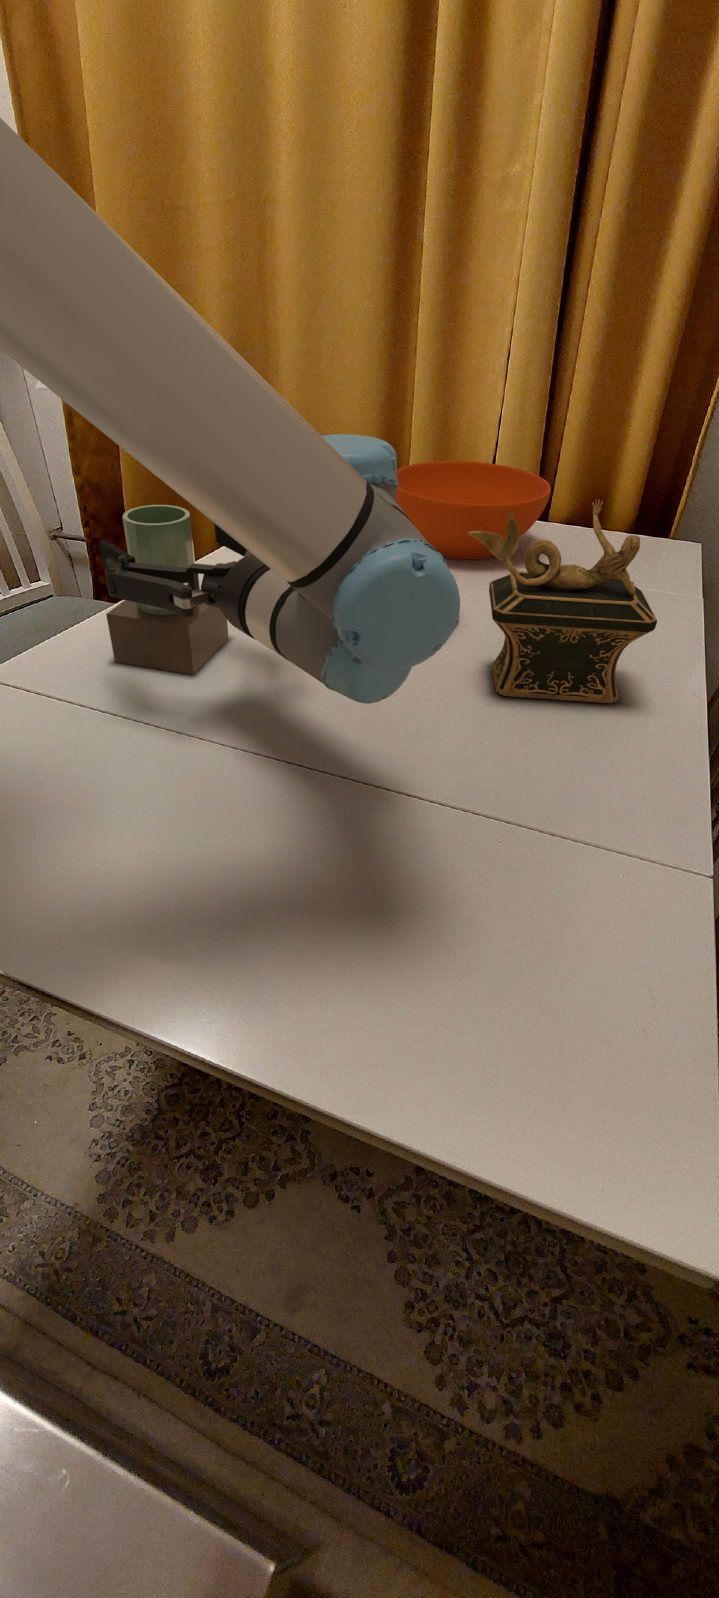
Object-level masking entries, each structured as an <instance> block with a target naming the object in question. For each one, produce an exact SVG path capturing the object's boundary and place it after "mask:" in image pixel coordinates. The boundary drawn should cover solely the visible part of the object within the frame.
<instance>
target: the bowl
mask: <svg viewBox="0 0 719 1598" xmlns="http://www.w3.org/2000/svg"><path fill="white" fill-rule="evenodd" d="M397 480H398V482H399V487H397V491H396V498H395V502H396V503H397V504H398V506H399V507H400V508H401V509H402V510H403V512H404V513H405V514H406V515H407V517H408V518H409V520H410V521H411V523H412V524H413V525H414V526H415V528H416V529H417V530H418V531H419V532H420V533H421V534H422V536H423V537H424V538H425V539H426V540H427V542H428V543H429V544H431V545H432V546H433V547H434V548H435V549H436V550H437V551H438V552H439V553H440V554H441V555H442V556H443V557H444V558H451V559H459V560H483V559H490V558H494V557H495V556H494V555H493V554H492V553H491V552H490V551H489V549H488V548H487V547H486V546H485V545H484V544H483V543H482V542H480V541H479V540H478V539H476V538H474V537H472V536H470V535H469V534H468V533H469V532H471V531H483V532H492V533H497V534H499V535H501V536H502V538H503V540H504V541H505V540H506V528H507V525H508V522H509V516H510V514H512V515H513V516H514V518H515V521H516V523H517V526H518V529H519V535H520V538H521V537H522V536H524V535H525V534H526V533H527V532H528V531H529V530H530V529H531V527H533V525H534V524H536V522H537V520H538V519H540V516H542V513H543V511H544V510H545V509H546V506H547V504H548V502H549V499H550V497H551V492H552V488H551V485H550V483H549V482H548V481H547V480H546V479H544V478H543V477H542V476H540V475H537V474H535V473H533V472H529V471H528V470H523V469H521V468H516V467H512V466H508V465H504V464H503V465H502V464H496V463H489V462H481V461H468V460H467V461H466V460H437V461H427V462H426V461H425V462H419V463H418V462H417V463H414V464H413V463H412V464H409V465H406V466H402V467H400V468H398V469H397Z"/></svg>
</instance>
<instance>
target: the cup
mask: <svg viewBox="0 0 719 1598" xmlns="http://www.w3.org/2000/svg"><path fill="white" fill-rule="evenodd" d="M121 519H122V523H123V530H124V531H123V532H124V536H125V544H126V550H127V553H128V554H129V555H131V556H132V557H134V558H135V561H136V563H142V564H152V565H163V566H174V567H184V568H188V567H189V566H190V565H191V564H194V563H196V558H195V549H194V540H193V531H192V521H191V512H190V511H189V510H188V509H186V508H184V507H180V506H177V505H171V504H170V505H169V504H150V505H149V504H148V505H141V506H137V507H134V508H130V509H128V510H125V512H123V513H122V518H121ZM136 604H137V607H138V608H139V609H140V610H141V611H143V612H145V613H149V614H154V615H174V614H178V613H176V612H174V611H172V610H168V609H163V608H159V607H154V606H150V605H145V604H141V603H136ZM195 607H196V606H194V608H195Z"/></svg>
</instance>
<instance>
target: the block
mask: <svg viewBox="0 0 719 1598" xmlns="http://www.w3.org/2000/svg"><path fill="white" fill-rule="evenodd" d="M200 590H201V588H200ZM105 616H106V621H107V626H108V627H107V628H108V632H109V637H110V638H109V639H110V642H111V648H112V653H113V659H114V663H117V664H123V665H129V666H136V667H141V668H147V669H153V670H161V671H166V672H172V673H179V674H183V675H191V676H194V675H196V673H198V672H199V670H200V669H202V667H203V666H204V665H205V664H207V662H208V661H209V660H210V659H211V658H212V657H213V656H214V655H215V654H216V653H217V652H218V651H219V650H220V648H221V647H223V646H224V644H226V642H227V641H228V640H229V639H230V638H229V627H228V620H227V619H226V617H225V616H224V614H223V613H222V611H221V610H220V609H219V608H217V607H213V606H209V605H206V604H205V603H203V604H200V605H197V606H196V607H195V608H194V615H193V616H190V617H185V616H182V615H180V614H174V615H154V614H149V613H145V612H143V611H141V610H140V609H139V608H138V607H137V604H136V602H132V601H128V600H123V601H121V602H120V603H118V604H117V605H116V606H115V607H114V608H112V609H111V610H109V611H108V612H106V615H105Z"/></svg>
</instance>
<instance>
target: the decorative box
mask: <svg viewBox="0 0 719 1598" xmlns="http://www.w3.org/2000/svg"><path fill="white" fill-rule="evenodd" d="M602 506H603V500H601V501H600V498H598V499H594V502H592V526H593V532H594V534H595V537H596V539H597V540H598V543H599V544H600V546H601V548H602V549H603V555H602V556H601V557H600V559H599V560H598V561H597V562H596V563H595V565H594V566H592V568H590V569H587V568H586V567H583V566H581V565H578V564H562V555H561V552H560V550H559V548H558V546H557V545H556V544H555V543H554V542H552V541H550V540H548V539H539V540H535V541H533V542H532V543H531V544H530V545H529V546H528V547H527V549H526V551H525V553H524V557H523V559H524V560H523V563H524V567H525V570H526V571H525V570H523V571H521V570H519V571H518V570H517V568H516V567H515V565H514V563H513V561H512V559H511V557H512V556H513V555H515V553H516V552H517V550H518V547H519V544H520V538H521V537H520V535H519V529H518V526H517V523H516V521H515V518H514V516H513V515H512V514H510V516H509V522H508V525H507V528H506V540H505V541H504V540H503V538H502V536H501V535H499V534H497V533H492V532H483V531H471V532H469V533H468V534H469V535H470V536H472V537H474V538H476V539H478V540H479V541H480V542H482V543H483V544H484V545H485V546H486V547H487V548H488V549H489V551H490V552H491V553H492V554H493V555H494V557H495V558H497V559H498V560H500V562H501V563H502V564H503V565H504V566H505V568H506V570H507V571H508V572H509V574H506V575H504V576H502V577H499V578H496V579H494V580H491V581H490V582H489V586H488V587H489V588H488V592H489V600H490V601H489V602H490V609H491V619H492V620H493V622H494V623H495V624H496V625H497V627H498V628H499V629H500V631H502V633H503V635H504V642H503V645H502V648H501V651H500V652H499V653H498V655H497V656H496V659H495V660H494V661H493V663H492V668H493V678H494V688H495V692H496V693H498V694H500V695H502V696H504V697H514V698H515V697H516V698H528V699H542V700H543V699H544V700H555V701H569V702H584V703H585V702H586V703H599V704H613V703H614V702H617V701H618V699H619V695H618V686H617V675H616V673H617V665H618V661H619V659H620V657H621V655H622V653H623V652H624V650H625V649H626V648H627V647H628V646H629V645H630V644H631V643H632V642H634V641H636V640H638V639H639V638H642V637H643V636H646V635H647V634H649V633H651V632H653V631H655V630H656V628H657V627H656V626H657V624H658V619H657V617H656V616H655V613H654V612H653V609H652V608H651V606H650V604H649V602H648V600H647V599H646V596H645V595H644V593H643V591H642V590H641V589H640V588H639V587H637V586H636V585H635V583H634V581H632V580H631V576H630V574H629V572H628V570H627V568H628V566H629V565H630V564H631V563H632V561H634V559H635V558H636V556H637V554H638V553H639V550H640V548H641V537H640V536H639V535H636V534H635V535H634V534H631V535H629V536H627V537H626V538H625V539H624V541H623V542H622V544H621V547H620V549H619V550H618V551H616V549H615V548H614V546H613V545H612V544H611V543H610V542H609V541H608V539H607V538H606V536H605V535H604V533H603V530H602V525H601V523H600V520H599V516H598V515H599V514H600V512H601V511H602V508H603V507H602ZM541 555H545V556H546V557H547V558H548V563H545V562H542V561H541V560H540V556H541Z"/></svg>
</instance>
